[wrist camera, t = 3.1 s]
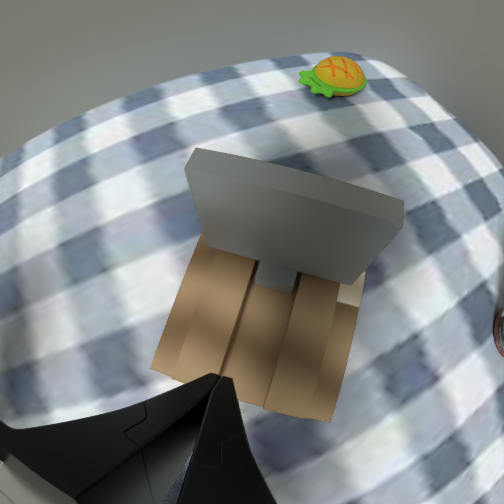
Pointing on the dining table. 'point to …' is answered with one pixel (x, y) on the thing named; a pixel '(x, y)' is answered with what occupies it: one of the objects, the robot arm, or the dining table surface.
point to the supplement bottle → (499, 332)
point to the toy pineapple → (334, 77)
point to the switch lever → (289, 218)
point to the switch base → (261, 334)
